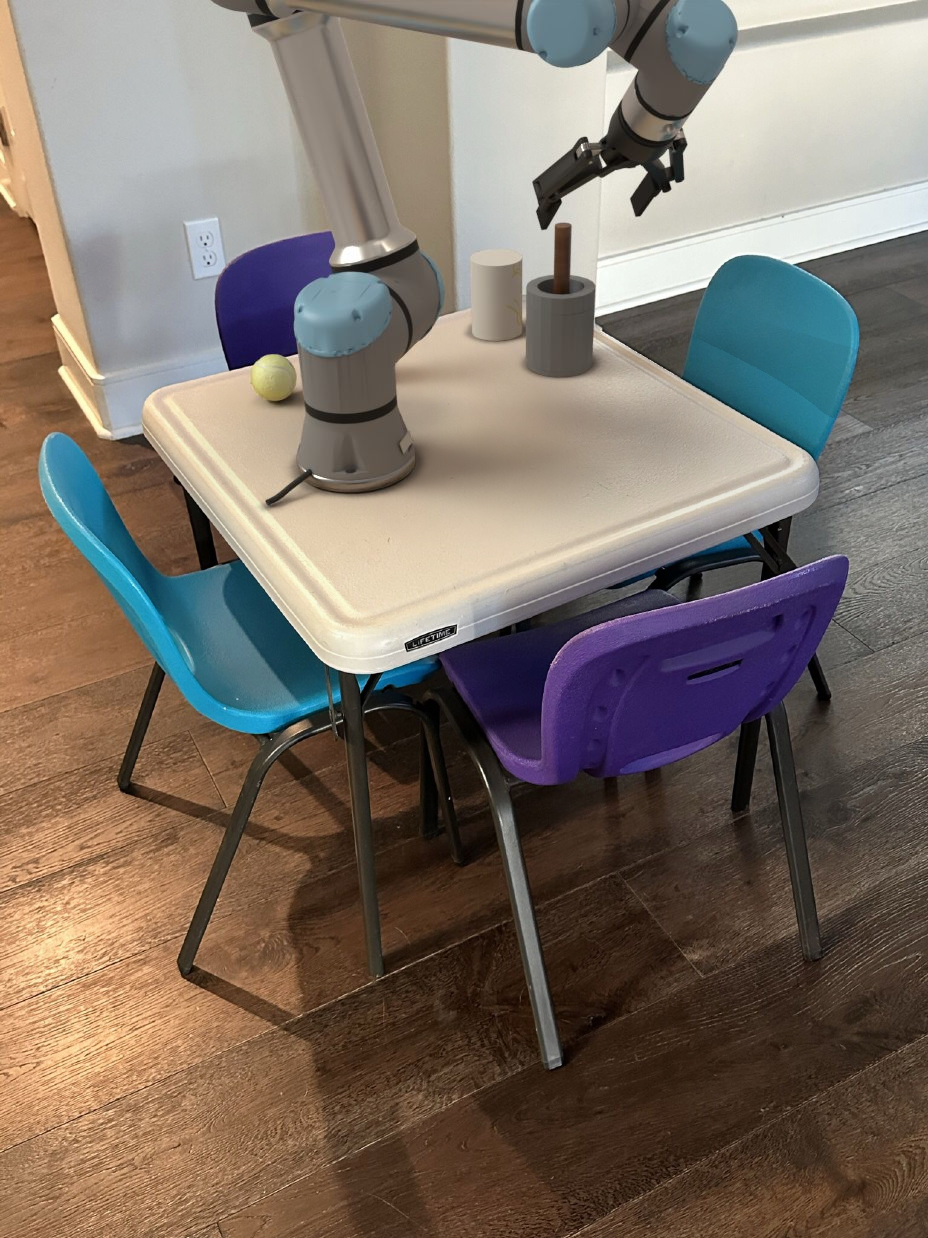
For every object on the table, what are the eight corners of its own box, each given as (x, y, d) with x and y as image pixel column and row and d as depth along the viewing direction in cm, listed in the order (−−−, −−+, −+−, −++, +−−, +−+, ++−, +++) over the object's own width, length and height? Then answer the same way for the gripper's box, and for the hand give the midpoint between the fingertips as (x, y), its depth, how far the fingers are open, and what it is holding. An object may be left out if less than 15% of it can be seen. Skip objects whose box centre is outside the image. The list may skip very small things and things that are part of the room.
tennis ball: (301, 406, 162) (295, 362, 158) (254, 411, 161) (247, 367, 157) (297, 387, 167) (292, 344, 163) (252, 392, 166) (245, 349, 162)
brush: (561, 367, 168) (564, 231, 156) (538, 358, 171) (540, 225, 159) (581, 357, 171) (586, 224, 159) (558, 349, 173) (561, 217, 162)
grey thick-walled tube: (562, 382, 166) (564, 303, 159) (512, 364, 171) (512, 287, 164) (605, 362, 171) (609, 284, 164) (556, 345, 177) (557, 269, 170)
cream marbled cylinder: (522, 340, 179) (522, 265, 172) (471, 341, 179) (469, 266, 172) (521, 321, 186) (521, 248, 179) (472, 322, 186) (470, 249, 179)
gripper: (559, 156, 124) (508, 252, 144) (756, 132, 131) (680, 227, 151) (540, 95, 125) (492, 199, 145) (737, 74, 132) (665, 176, 152)
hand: (588, 213), depth 148 cm, fingers open, 13 cm apart
